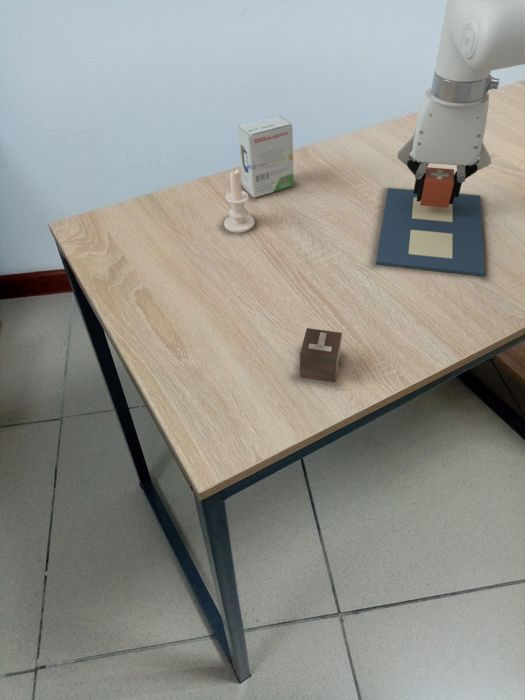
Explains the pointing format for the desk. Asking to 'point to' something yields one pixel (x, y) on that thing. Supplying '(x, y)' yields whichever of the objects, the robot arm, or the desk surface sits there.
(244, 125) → the ink box
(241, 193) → the candle
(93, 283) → the desk surface
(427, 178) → the rust brown block
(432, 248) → the mat
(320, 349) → the wooden letter block
